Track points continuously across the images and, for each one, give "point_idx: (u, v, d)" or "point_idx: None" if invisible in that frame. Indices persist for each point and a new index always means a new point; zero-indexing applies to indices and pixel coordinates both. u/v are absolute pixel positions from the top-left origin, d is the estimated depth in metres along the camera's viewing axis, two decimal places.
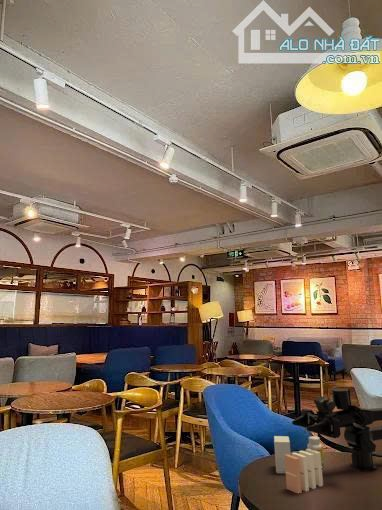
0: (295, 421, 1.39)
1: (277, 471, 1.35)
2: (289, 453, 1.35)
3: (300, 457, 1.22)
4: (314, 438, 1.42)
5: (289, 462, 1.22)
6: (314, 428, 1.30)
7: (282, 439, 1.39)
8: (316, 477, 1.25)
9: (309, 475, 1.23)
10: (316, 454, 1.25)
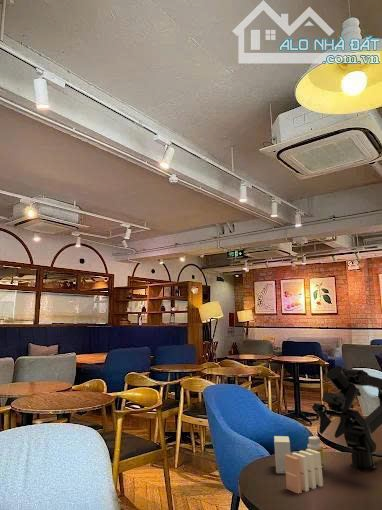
0: (321, 429, 1.35)
1: (277, 471, 1.35)
2: (289, 453, 1.35)
3: (300, 457, 1.22)
4: (314, 438, 1.42)
5: (289, 462, 1.22)
6: (340, 431, 1.30)
7: (282, 439, 1.39)
8: (316, 477, 1.25)
9: (309, 475, 1.23)
10: (316, 454, 1.25)
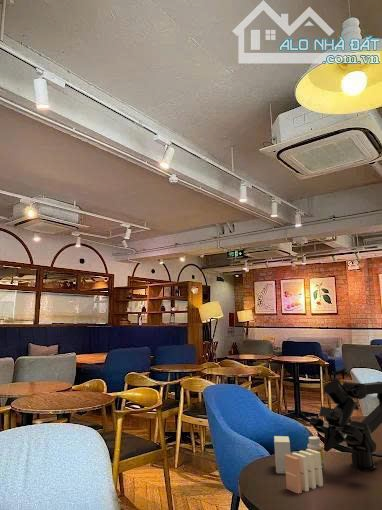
0: None
1: (277, 471, 1.35)
2: (289, 453, 1.35)
3: (300, 457, 1.22)
4: (314, 438, 1.42)
5: (289, 462, 1.22)
6: (330, 445, 1.31)
7: (282, 439, 1.39)
8: (316, 477, 1.25)
9: (309, 475, 1.23)
10: (316, 454, 1.25)
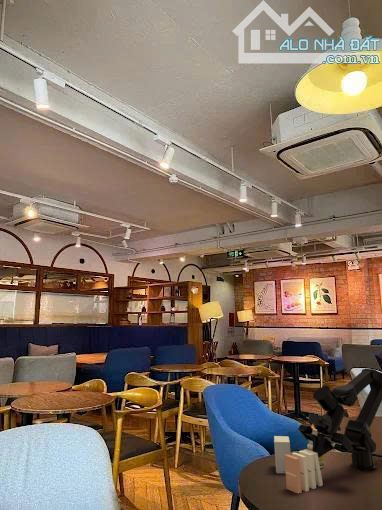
0: None
1: (277, 471, 1.35)
2: (289, 453, 1.35)
3: (300, 457, 1.22)
4: None
5: (289, 462, 1.22)
6: (318, 453, 1.27)
7: (282, 439, 1.39)
8: (315, 477, 1.24)
9: (309, 475, 1.23)
10: None
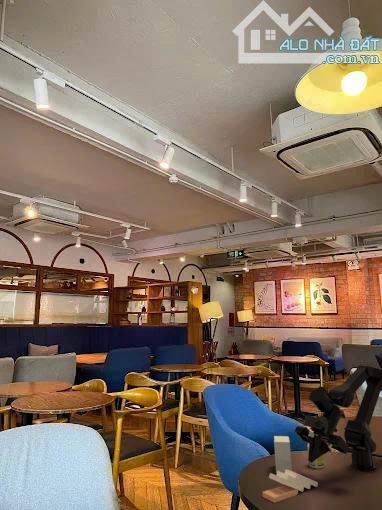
0: None
1: None
2: (289, 453, 1.35)
3: (278, 481, 1.17)
4: None
5: None
6: (315, 455, 1.26)
7: (282, 439, 1.39)
8: None
9: (299, 484, 1.20)
10: None
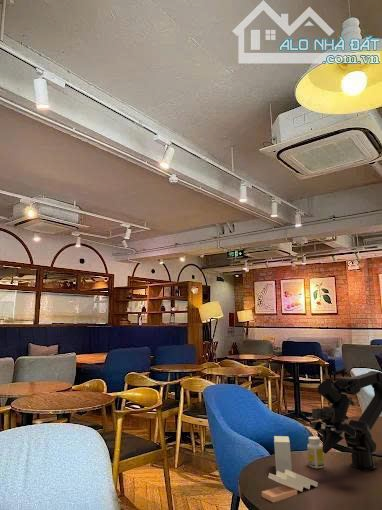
0: None
1: None
2: (289, 453, 1.35)
3: (276, 481, 1.17)
4: (314, 438, 1.42)
5: None
6: (328, 446, 1.30)
7: (282, 439, 1.39)
8: None
9: (298, 484, 1.21)
10: None
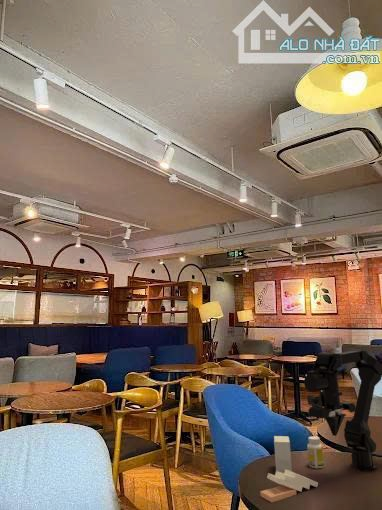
0: None
1: None
2: (289, 453, 1.35)
3: (275, 481, 1.17)
4: (314, 438, 1.42)
5: None
6: (331, 428, 1.34)
7: (282, 439, 1.39)
8: None
9: None
10: (295, 478, 1.20)
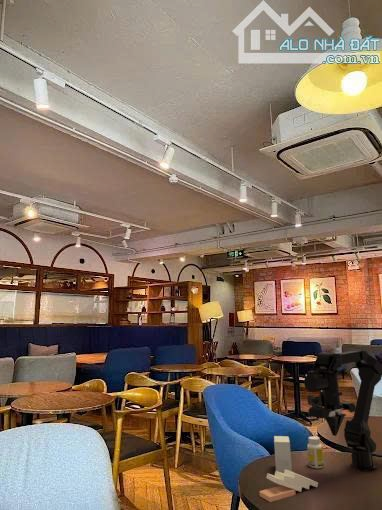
0: None
1: None
2: (289, 453, 1.35)
3: None
4: (314, 438, 1.42)
5: None
6: (331, 428, 1.34)
7: (282, 439, 1.39)
8: None
9: None
10: (294, 478, 1.20)
